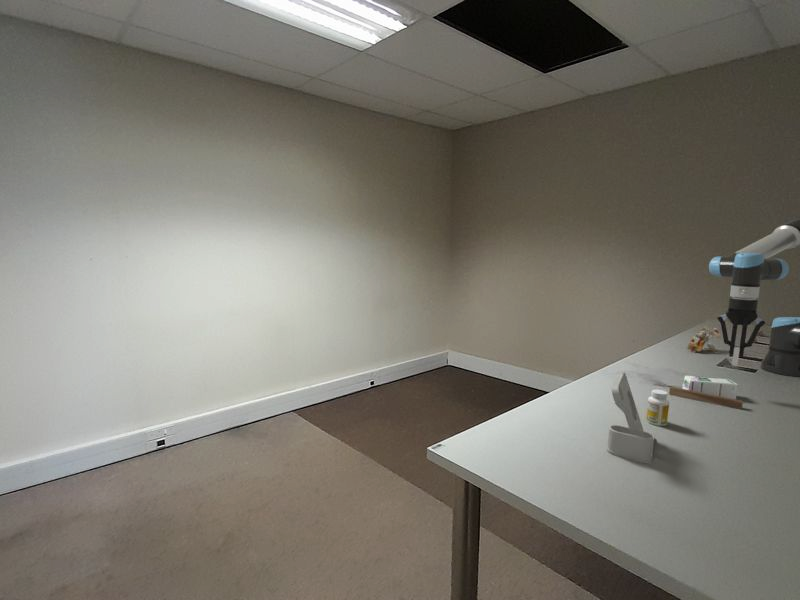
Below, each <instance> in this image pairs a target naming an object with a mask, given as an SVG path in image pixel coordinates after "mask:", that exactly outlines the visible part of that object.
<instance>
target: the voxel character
mask: <svg viewBox="0 0 800 600" xmlns="http://www.w3.org/2000/svg"><path fill="white" fill-rule="evenodd" d="M705 331H706V332H708V333H706V332H705ZM721 334H722V333H720V331H719V329H718V328H716V327H714V328H713V329H712V331H711V332H710V328H709V327H706V326H705V325H703V326H702V328H701V330H700V331H699V332H696V333H695V335H694V336H692V337H691V339H690V342H689V343H688V346H687V348H686V349H688V350H690V351H691V352H692V353H694V354H695V353H696V352H702V349H703V347H704V346H705V344H706V343H707V347H708V349H709V350H711V352H715V351H716V347H715V346H714V344H712V343H711V342H709V341H710V340H711V338H712V339H713V338H714V337H717V338H718V339H721V338H722V335H721Z"/></svg>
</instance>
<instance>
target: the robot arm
mask: <svg viewBox="0 0 800 600" xmlns="http://www.w3.org/2000/svg"><path fill="white" fill-rule="evenodd" d="M799 246H800V218H797V219H794V220H791V221H788V222H786V223H784V224H782V225H780V226H778V227H776V228H775V229H774V230H773V232H771V234H768V235H766V236H764V237H763V238H760V239H758V240H756V241H755V242H753V243H751V244H749V245H747V246H745V247H743V248H741V249H739V250H737V251H735V252H733V253H732V254H729V255H727V256H724V255H721V256H715V257H713V258H711V259H710V261H709V264H708V271H709V273H710V274H711V275H713V276H717V277H721V278H724V277H725V278H732V279H731V285H730V292H729V297H730V298H729V300H728V306H727V307H728V308H727V311H726V312H725V314H722V315H718V316H717V320H718V321H719V323H720V326H721V334H722V338H723V344H725V345H728V346H729V352H728V353H729V356H732V361H731V362H732V363H731V365H732V366H735V367H738V365H739V364H738V363H739V357H742V358H743V357H744V354H745V353H744V352H745V348H752V346H753V344H754V343H755V342H754V341H755V339H756V338H757V335H758V334H759V332H760V330H761V327H763V326H765V324H766V321H765V319H761V318H760V317H759V315H758V313H757V310H758V303H759V301H758V300H757V299H759V296H760V287H761V282H762V281H778V280H782V279H784V278H785V277H786V276H787V275H788V274H789V271H790V265H789V263H788V262H786V260H784V259H781V258H777V257H776V258H773V256H775V255H777V254H779V253H781V252H783V251H785V250H787V249H789V250H790V249H794V248H797V247H799ZM727 318H728V320H729V322H730V323H731V324H732V329H731V330H732V331H731V337H730V340H729V336H728V330H727V323H726V321H727ZM754 321H755V324H756V325H755V326H754V327H753V330H752V332H751V334H750V336H749V338H748V340H747V342H746V339H747V338H746V337H747V331H748V326H749V325H751V324H752V323H754ZM738 326H741V336H740V341H739V345H736V339H737V332H738V331H737V330H738ZM768 344H769V345H768V350H767V352H766V354H765V355H764V357H763V359H762V360H761V363H760V369H762V370H765V371H767V372H770V373H774V374H777V375H783V376H789V377H790V376H791V377H800V317H799V316H798V317H797V316H781V317H780V316H779V317H776V318H775V317H774V319H773V320H772V325H771V326H770V336H769V343H768Z"/></svg>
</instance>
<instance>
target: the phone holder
mask: <svg viewBox="0 0 800 600" xmlns="http://www.w3.org/2000/svg"><path fill="white" fill-rule="evenodd" d="M611 394H612V397H613V401H614V404H615V405H616V407H617V408H618V409H620V411H621V412H622V413H624V416H625V419H626V422H627V423H626V424H627V425H628V427H626V426H623V425H622V426H621V425H617V424H616V425H615V424H613V425H610V426H609V428H608V429H609V430H608V439H607V448H606V452H607V453H608V454H610V455H614V456H616V457H620V458H624V459H627V460H631V461H636V462H638V463H643V464H651V463H652V459H653V452H654V444H655V436H654V435H653V434H651V433H649V432H646V431H644V428H643V425H642V422H641V418H640V415H639V411H638V408H637V406H636V405H637V404H636V402H635V399H634V396H633V394H632V391H631V387H630V383H629V381H628V376H627V375H626V373H625V372H620V373H619V372H618V373H617V375H616V377H615V379H614V381H613V383H612V385H611Z"/></svg>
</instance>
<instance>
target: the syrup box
mask: <svg viewBox="0 0 800 600" xmlns="http://www.w3.org/2000/svg"><path fill="white" fill-rule="evenodd" d="M738 387H739V384H738V383H736V382H734V381H733V380H731V379H730V378H722V377H721V378H720V377H709V376H697V375H696V376H695V375H684V376H683V380H682V389H686V390H691V391H696V392H701V393H706V394H711V395H716V396H721V397H726V398H732V399H737V394H738Z"/></svg>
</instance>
